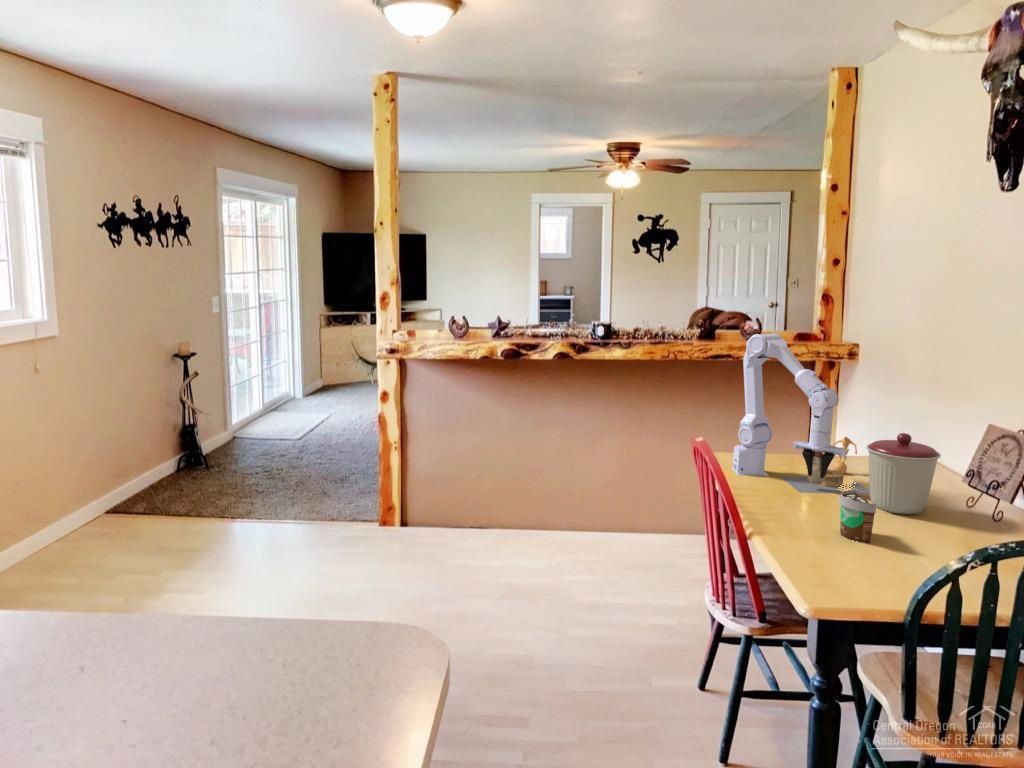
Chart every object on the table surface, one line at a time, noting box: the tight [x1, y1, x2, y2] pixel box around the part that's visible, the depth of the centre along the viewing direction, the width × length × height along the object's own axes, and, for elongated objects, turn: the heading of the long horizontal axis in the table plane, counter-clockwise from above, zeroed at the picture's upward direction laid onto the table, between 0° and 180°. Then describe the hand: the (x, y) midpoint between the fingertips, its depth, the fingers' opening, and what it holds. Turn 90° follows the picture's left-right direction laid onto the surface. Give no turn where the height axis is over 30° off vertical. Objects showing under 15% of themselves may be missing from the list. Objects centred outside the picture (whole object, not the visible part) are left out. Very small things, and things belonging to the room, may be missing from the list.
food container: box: [837, 490, 877, 544], centre depth 191 cm, size 12×6×10 cm, turn 178°
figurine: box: [832, 436, 858, 475], centre depth 250 cm, size 8×6×12 cm
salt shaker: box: [810, 451, 824, 484], centre depth 230 cm, size 3×3×10 cm
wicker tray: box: [807, 468, 845, 487], centre depth 238 cm, size 9×9×3 cm
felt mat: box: [779, 476, 870, 495], centre depth 236 cm, size 22×17×1 cm
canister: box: [865, 432, 942, 515], centre depth 214 cm, size 18×18×21 cm
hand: (816, 476), depth 230 cm, fingers closed on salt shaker, 3 cm apart
